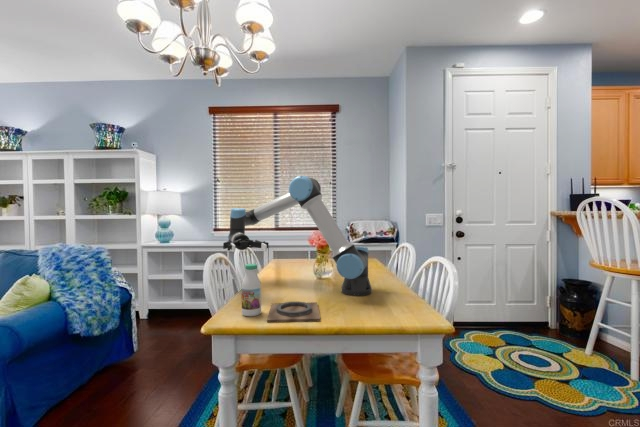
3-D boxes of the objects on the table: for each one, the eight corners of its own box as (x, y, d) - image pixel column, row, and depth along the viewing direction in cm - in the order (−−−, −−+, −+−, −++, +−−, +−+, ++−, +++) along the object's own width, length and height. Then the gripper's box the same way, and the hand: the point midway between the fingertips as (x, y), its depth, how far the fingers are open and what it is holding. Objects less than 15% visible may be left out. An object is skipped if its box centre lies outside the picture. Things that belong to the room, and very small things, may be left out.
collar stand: (317, 304, 140) (317, 299, 139) (320, 321, 120) (320, 314, 120) (271, 305, 138) (271, 299, 138) (266, 322, 118) (266, 315, 118)
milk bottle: (244, 310, 132) (244, 262, 132) (262, 310, 132) (262, 262, 131) (239, 316, 124) (238, 266, 124) (258, 317, 124) (258, 266, 124)
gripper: (265, 248, 160) (277, 256, 141) (213, 249, 149) (219, 257, 130) (265, 233, 160) (278, 239, 140) (214, 233, 149) (220, 239, 130)
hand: (250, 248), depth 135 cm, fingers open, 13 cm apart
